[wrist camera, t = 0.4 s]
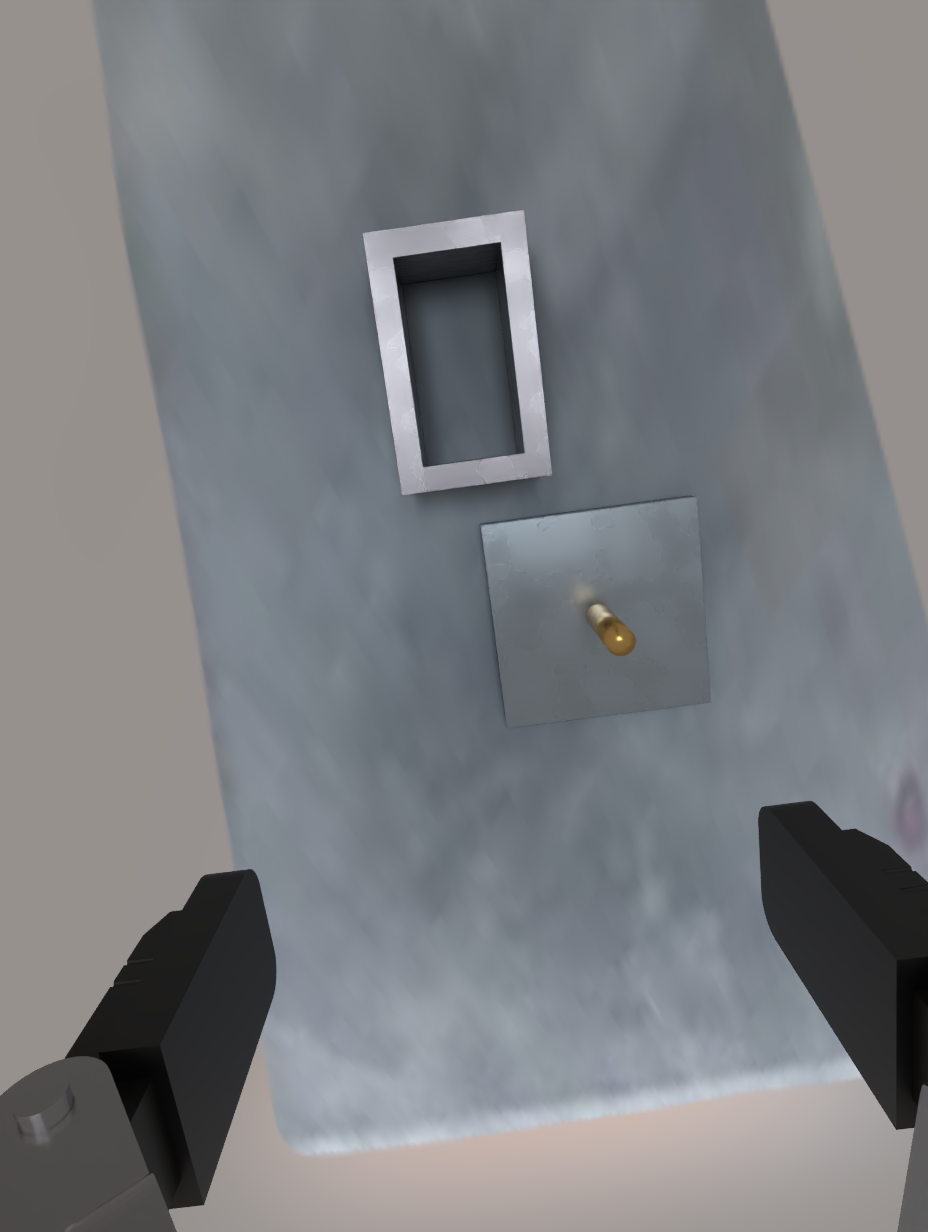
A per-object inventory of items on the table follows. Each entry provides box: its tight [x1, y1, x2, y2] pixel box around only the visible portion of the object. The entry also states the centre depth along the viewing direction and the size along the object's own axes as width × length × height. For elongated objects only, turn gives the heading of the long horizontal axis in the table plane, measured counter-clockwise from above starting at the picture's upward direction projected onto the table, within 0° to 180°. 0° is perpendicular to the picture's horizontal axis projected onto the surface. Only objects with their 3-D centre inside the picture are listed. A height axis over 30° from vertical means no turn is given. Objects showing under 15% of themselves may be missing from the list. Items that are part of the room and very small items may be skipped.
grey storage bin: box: [363, 210, 552, 495], centre depth 31 cm, size 10×6×4 cm, turn 8°
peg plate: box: [480, 495, 711, 728], centre depth 33 cm, size 10×10×6 cm
